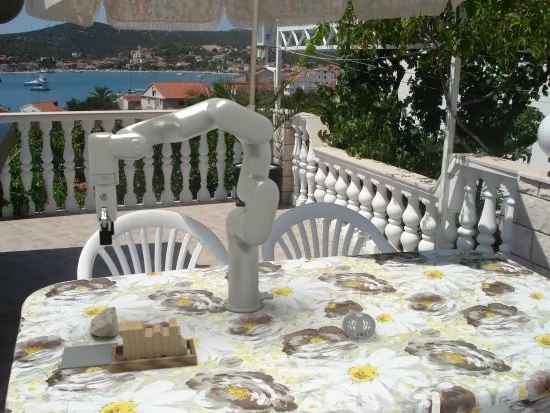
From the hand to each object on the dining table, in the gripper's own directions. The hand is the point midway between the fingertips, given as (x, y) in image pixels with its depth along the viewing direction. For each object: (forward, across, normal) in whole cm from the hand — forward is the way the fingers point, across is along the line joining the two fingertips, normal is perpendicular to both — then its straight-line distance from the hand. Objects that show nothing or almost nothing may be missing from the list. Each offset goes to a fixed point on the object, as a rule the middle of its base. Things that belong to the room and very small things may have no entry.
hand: (107, 239), depth 171 cm
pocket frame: (+27, -20, -12) cm, 35 cm away
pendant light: (+27, -15, -69) cm, 75 cm away
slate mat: (+27, -16, +4) cm, 31 cm away
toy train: (+27, -20, -12) cm, 36 cm away
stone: (+27, -1, +2) cm, 27 cm away
